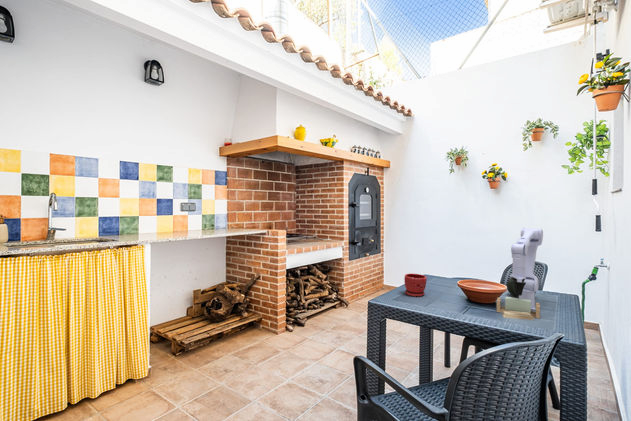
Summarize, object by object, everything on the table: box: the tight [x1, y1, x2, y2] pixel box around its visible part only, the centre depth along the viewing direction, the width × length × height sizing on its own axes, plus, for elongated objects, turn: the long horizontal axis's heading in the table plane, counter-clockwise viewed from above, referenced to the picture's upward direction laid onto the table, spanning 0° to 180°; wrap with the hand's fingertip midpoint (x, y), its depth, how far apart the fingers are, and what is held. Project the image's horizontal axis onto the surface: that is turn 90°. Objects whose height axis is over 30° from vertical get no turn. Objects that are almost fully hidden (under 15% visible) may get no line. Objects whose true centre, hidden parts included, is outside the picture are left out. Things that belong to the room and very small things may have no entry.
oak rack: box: [496, 297, 541, 320], centre depth 168 cm, size 7×18×6 cm, turn 58°
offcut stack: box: [501, 311, 535, 321], centre depth 162 cm, size 4×13×3 cm, turn 74°
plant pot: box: [404, 273, 427, 297], centre depth 202 cm, size 13×13×12 cm
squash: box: [506, 276, 537, 298], centre depth 200 cm, size 14×15×15 cm
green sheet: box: [504, 296, 532, 314], centre depth 168 cm, size 4×11×8 cm, turn 58°
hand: (518, 293), depth 167 cm, fingers open, 7 cm apart
